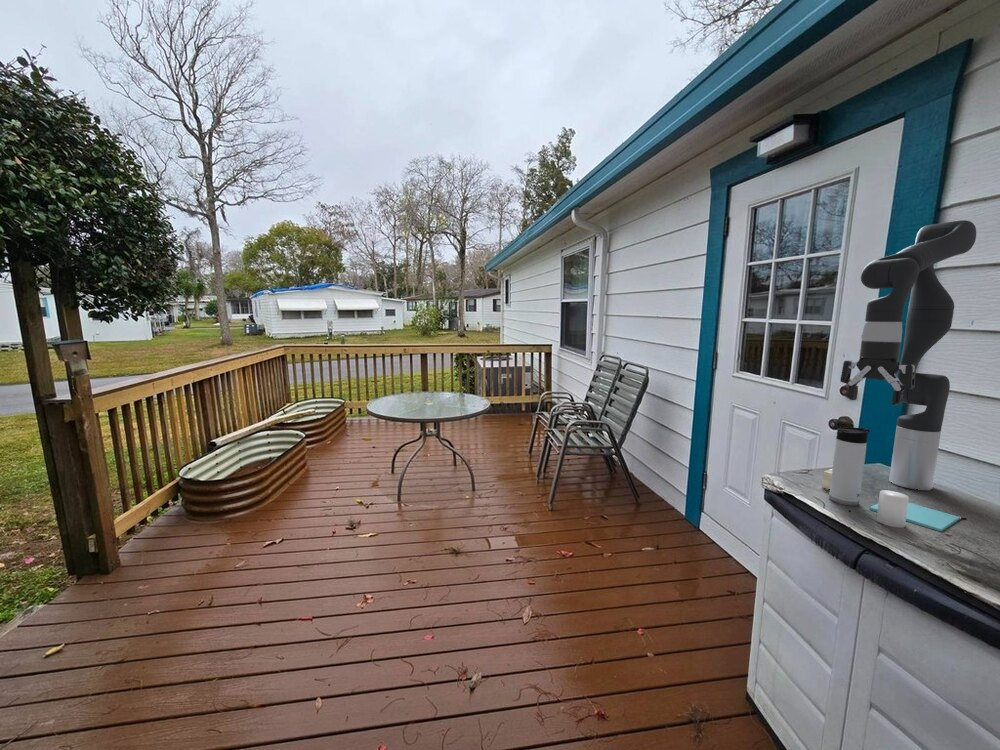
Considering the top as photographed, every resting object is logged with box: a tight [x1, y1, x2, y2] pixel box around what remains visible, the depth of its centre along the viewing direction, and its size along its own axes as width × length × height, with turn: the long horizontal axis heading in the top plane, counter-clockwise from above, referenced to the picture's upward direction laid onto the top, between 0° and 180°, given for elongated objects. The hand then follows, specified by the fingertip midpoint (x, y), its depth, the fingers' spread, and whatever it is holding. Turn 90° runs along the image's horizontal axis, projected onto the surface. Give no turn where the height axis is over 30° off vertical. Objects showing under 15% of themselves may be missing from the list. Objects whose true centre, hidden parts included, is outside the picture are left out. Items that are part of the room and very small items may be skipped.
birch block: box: [821, 468, 832, 490], centre depth 120 cm, size 5×5×5 cm
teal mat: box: [869, 502, 961, 533], centre depth 104 cm, size 13×13×1 cm
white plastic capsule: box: [876, 489, 910, 529], centre depth 99 cm, size 5×5×7 cm
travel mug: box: [828, 426, 870, 507], centre depth 111 cm, size 6×7×20 cm
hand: (873, 402), depth 109 cm, fingers open, 8 cm apart
